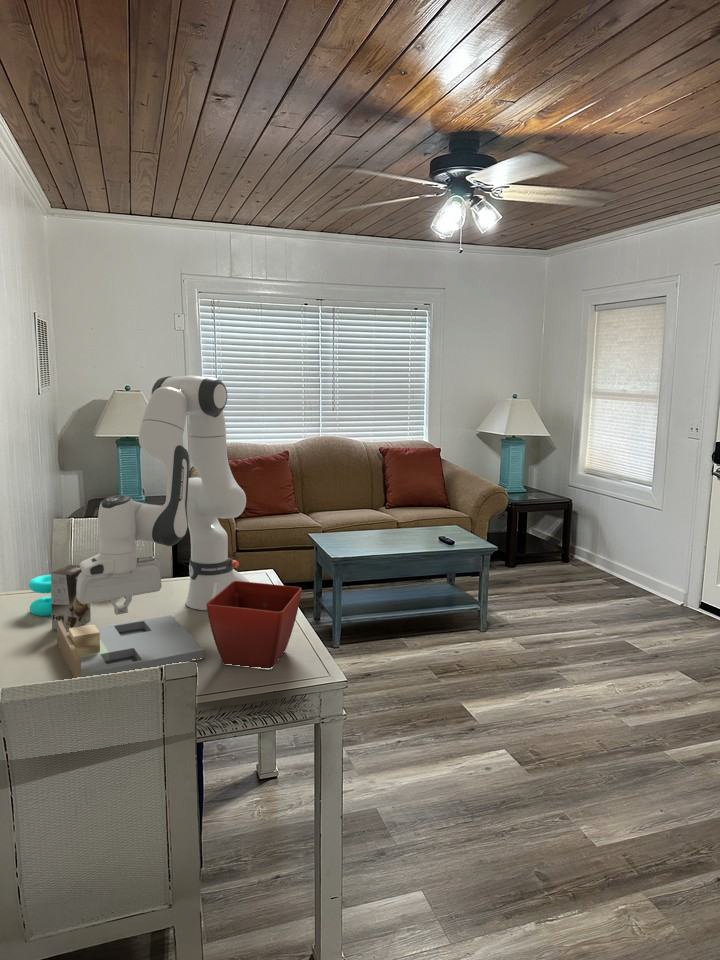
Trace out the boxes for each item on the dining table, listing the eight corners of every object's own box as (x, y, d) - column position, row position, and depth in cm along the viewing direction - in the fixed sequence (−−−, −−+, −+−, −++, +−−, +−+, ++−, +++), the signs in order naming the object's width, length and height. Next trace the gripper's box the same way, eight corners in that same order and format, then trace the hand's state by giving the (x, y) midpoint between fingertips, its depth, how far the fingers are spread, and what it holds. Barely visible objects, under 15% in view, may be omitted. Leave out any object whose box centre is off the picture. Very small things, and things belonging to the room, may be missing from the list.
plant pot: (280, 679, 158) (281, 611, 155) (204, 670, 161) (204, 603, 159) (301, 647, 177) (302, 586, 174) (232, 640, 180) (233, 580, 177)
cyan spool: (73, 577, 195) (42, 586, 187) (74, 610, 197) (43, 619, 189) (52, 571, 200) (21, 579, 192) (53, 603, 202) (22, 612, 194)
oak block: (94, 642, 168) (94, 624, 167) (100, 651, 163) (99, 632, 163) (69, 647, 165) (68, 628, 164) (74, 656, 160) (73, 636, 159)
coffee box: (72, 631, 181) (70, 574, 178) (51, 629, 182) (49, 572, 180) (91, 620, 190) (90, 565, 187) (71, 617, 191) (70, 563, 188)
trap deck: (171, 623, 190) (171, 603, 189) (204, 659, 167) (204, 636, 166) (57, 642, 173) (56, 620, 172) (76, 685, 151) (76, 660, 150)
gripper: (156, 551, 174) (158, 601, 176) (73, 563, 163) (76, 616, 165) (164, 558, 168) (165, 609, 171) (78, 570, 157) (81, 625, 160)
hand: (121, 613), depth 168 cm, fingers closed
